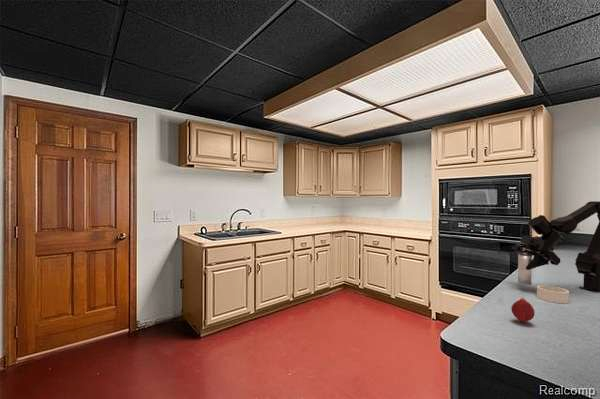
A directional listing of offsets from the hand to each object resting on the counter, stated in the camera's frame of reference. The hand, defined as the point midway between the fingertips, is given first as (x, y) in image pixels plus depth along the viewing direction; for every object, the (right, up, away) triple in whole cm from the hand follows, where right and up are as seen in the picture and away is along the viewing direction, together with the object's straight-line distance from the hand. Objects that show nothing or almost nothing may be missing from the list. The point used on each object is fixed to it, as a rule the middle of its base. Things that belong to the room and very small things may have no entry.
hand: (521, 267), depth 125 cm
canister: (+1, -7, 0) cm, 7 cm away
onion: (-25, -10, -33) cm, 42 cm away
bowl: (+4, -10, -10) cm, 15 cm away
